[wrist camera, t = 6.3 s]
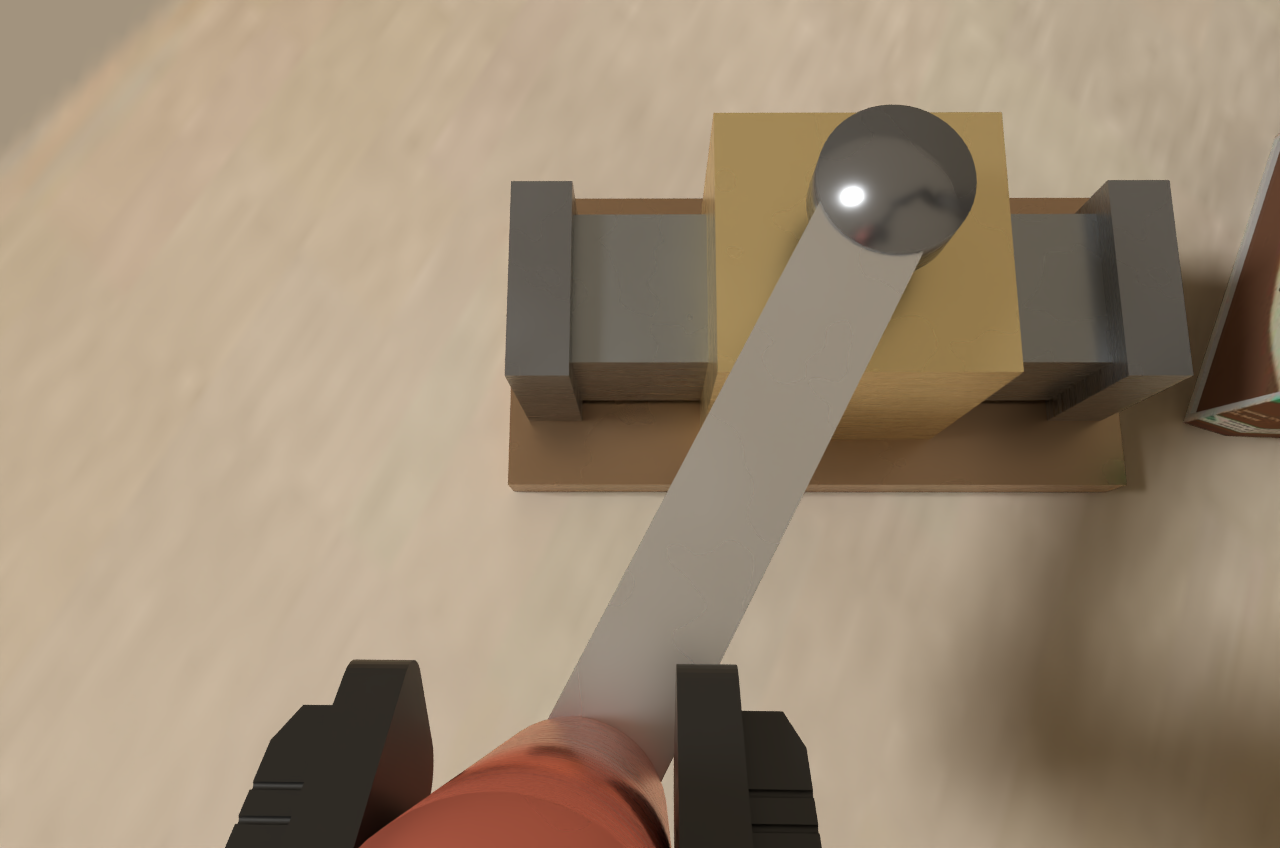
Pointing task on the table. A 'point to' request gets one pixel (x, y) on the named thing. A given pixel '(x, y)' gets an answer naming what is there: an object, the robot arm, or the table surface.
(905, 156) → the lever
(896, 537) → the table surface
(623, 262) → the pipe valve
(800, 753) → the robot arm
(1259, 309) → the food container
